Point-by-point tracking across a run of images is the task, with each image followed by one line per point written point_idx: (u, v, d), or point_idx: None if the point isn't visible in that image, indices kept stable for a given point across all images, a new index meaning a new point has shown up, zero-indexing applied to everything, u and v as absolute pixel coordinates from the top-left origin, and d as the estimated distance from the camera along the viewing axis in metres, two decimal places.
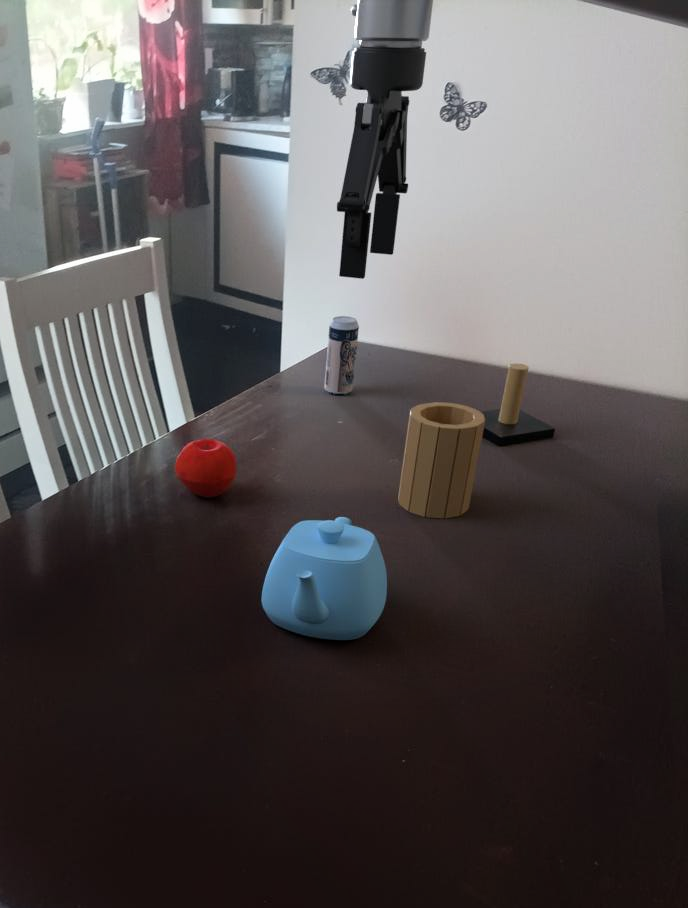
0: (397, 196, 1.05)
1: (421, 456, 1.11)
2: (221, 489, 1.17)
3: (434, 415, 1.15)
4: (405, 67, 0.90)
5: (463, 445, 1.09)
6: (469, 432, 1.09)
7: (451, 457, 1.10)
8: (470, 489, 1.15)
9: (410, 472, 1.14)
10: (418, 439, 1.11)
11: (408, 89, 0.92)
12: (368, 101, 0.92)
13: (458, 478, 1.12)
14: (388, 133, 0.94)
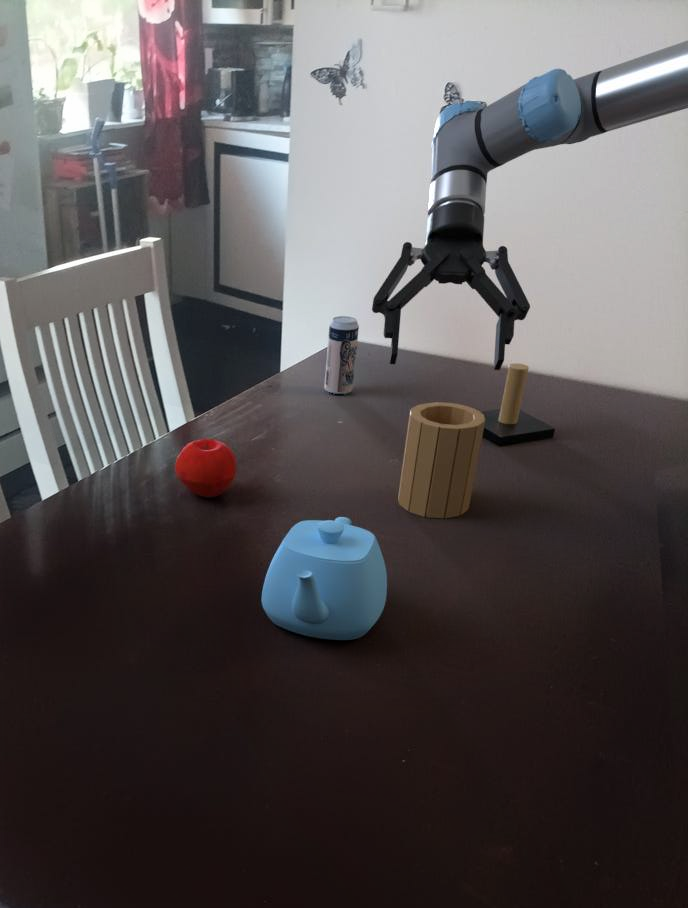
0: (500, 315, 1.17)
1: (421, 456, 1.11)
2: (221, 489, 1.17)
3: (434, 415, 1.15)
4: (436, 216, 1.20)
5: (463, 445, 1.09)
6: (469, 432, 1.09)
7: (451, 457, 1.10)
8: (470, 489, 1.15)
9: (410, 472, 1.14)
10: (418, 439, 1.11)
11: (442, 228, 1.19)
12: None
13: (458, 478, 1.12)
14: (430, 260, 1.20)
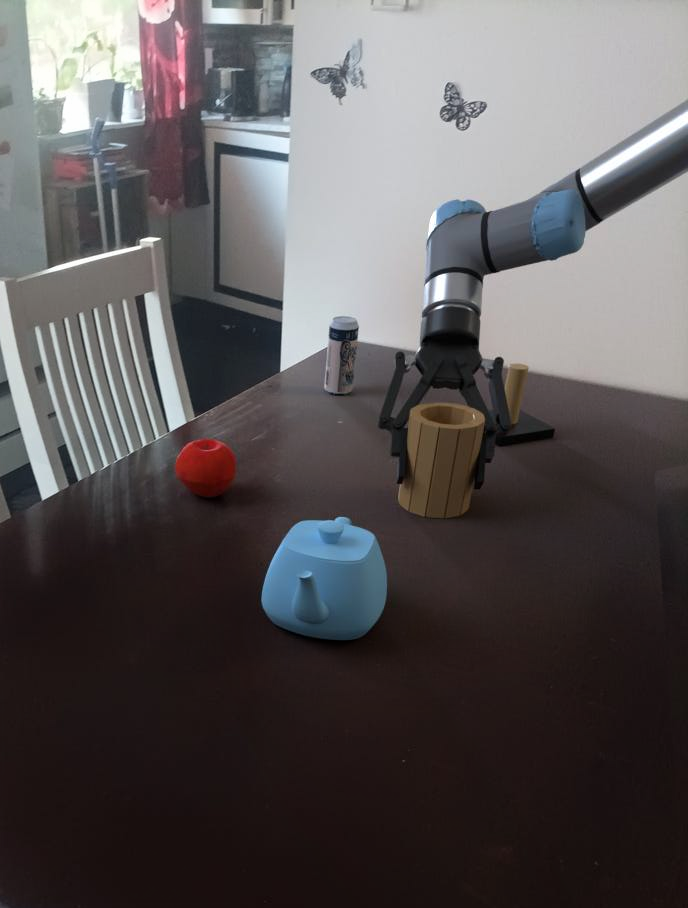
0: None
1: (421, 456, 1.11)
2: (221, 489, 1.17)
3: (434, 415, 1.15)
4: (430, 321, 1.15)
5: (463, 445, 1.09)
6: (469, 431, 1.09)
7: (451, 457, 1.10)
8: (470, 489, 1.15)
9: (410, 472, 1.14)
10: (418, 439, 1.11)
11: (436, 333, 1.14)
12: None
13: (458, 478, 1.12)
14: (426, 369, 1.15)
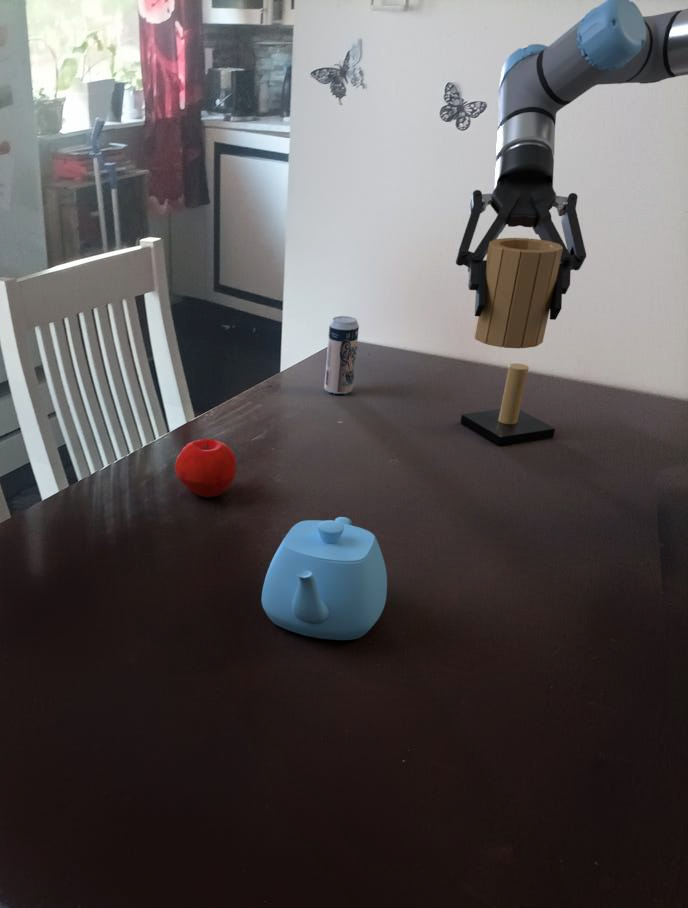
0: None
1: (501, 284, 1.16)
2: (221, 489, 1.17)
3: None
4: (506, 159, 1.20)
5: (543, 271, 1.14)
6: (549, 256, 1.14)
7: (531, 283, 1.15)
8: (546, 320, 1.20)
9: (489, 302, 1.19)
10: (499, 267, 1.16)
11: (512, 170, 1.19)
12: None
13: (536, 305, 1.17)
14: None
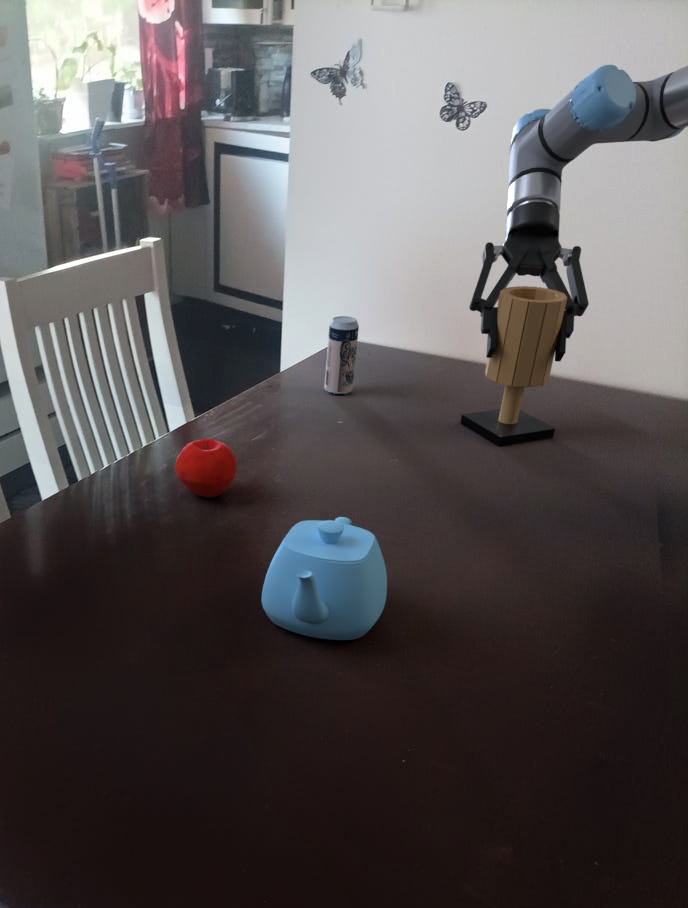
0: None
1: (511, 329, 1.28)
2: (221, 489, 1.17)
3: (520, 297, 1.32)
4: (516, 214, 1.32)
5: (549, 318, 1.26)
6: (554, 306, 1.25)
7: (538, 329, 1.27)
8: (551, 361, 1.31)
9: (499, 345, 1.30)
10: (509, 314, 1.27)
11: (522, 225, 1.31)
12: None
13: (542, 349, 1.29)
14: (513, 257, 1.31)
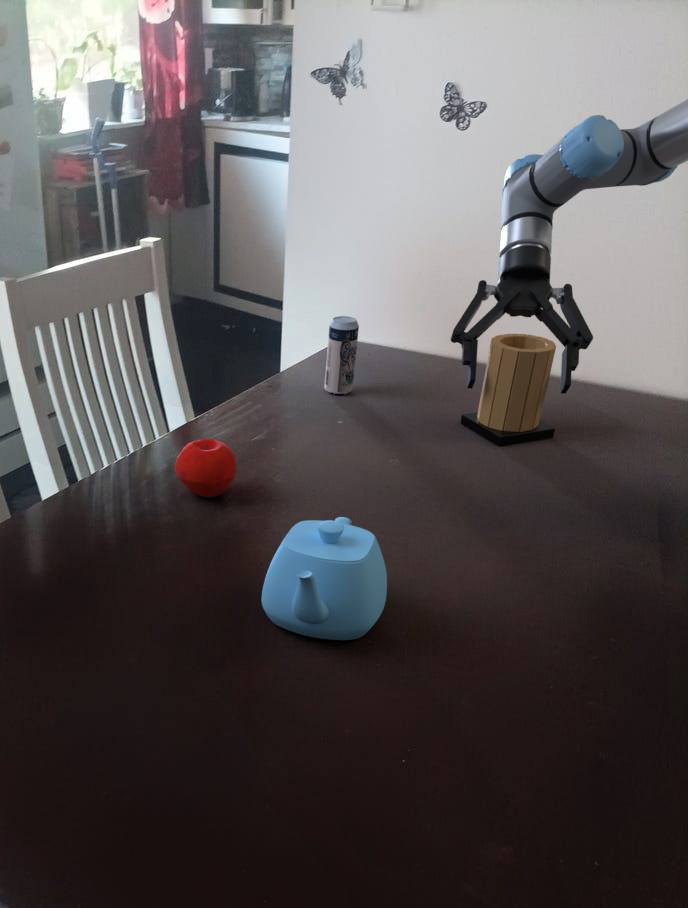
0: (567, 345, 1.33)
1: (501, 377, 1.32)
2: (221, 489, 1.17)
3: (510, 344, 1.35)
4: (508, 258, 1.35)
5: (538, 367, 1.30)
6: (544, 355, 1.29)
7: (527, 377, 1.31)
8: (541, 407, 1.35)
9: (491, 392, 1.34)
10: (499, 362, 1.31)
11: (514, 268, 1.34)
12: None
13: (532, 396, 1.32)
14: (503, 296, 1.35)
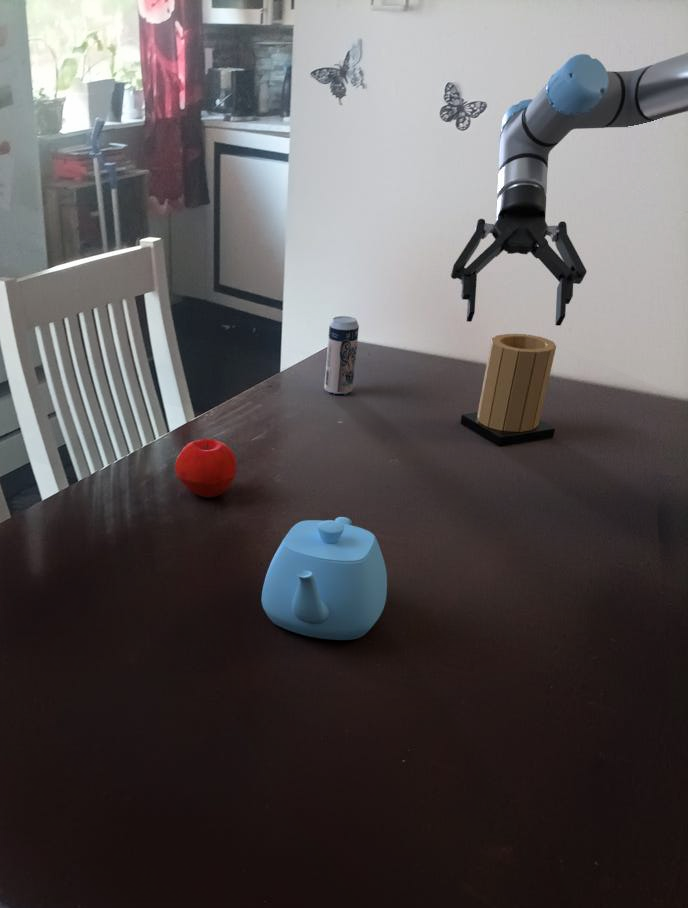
0: (561, 279, 1.40)
1: (501, 377, 1.32)
2: (221, 489, 1.17)
3: (510, 344, 1.35)
4: (506, 197, 1.42)
5: (538, 367, 1.30)
6: (544, 355, 1.29)
7: (527, 377, 1.31)
8: (541, 407, 1.35)
9: (491, 392, 1.34)
10: (499, 362, 1.31)
11: (511, 206, 1.41)
12: None
13: (532, 396, 1.32)
14: (501, 234, 1.42)
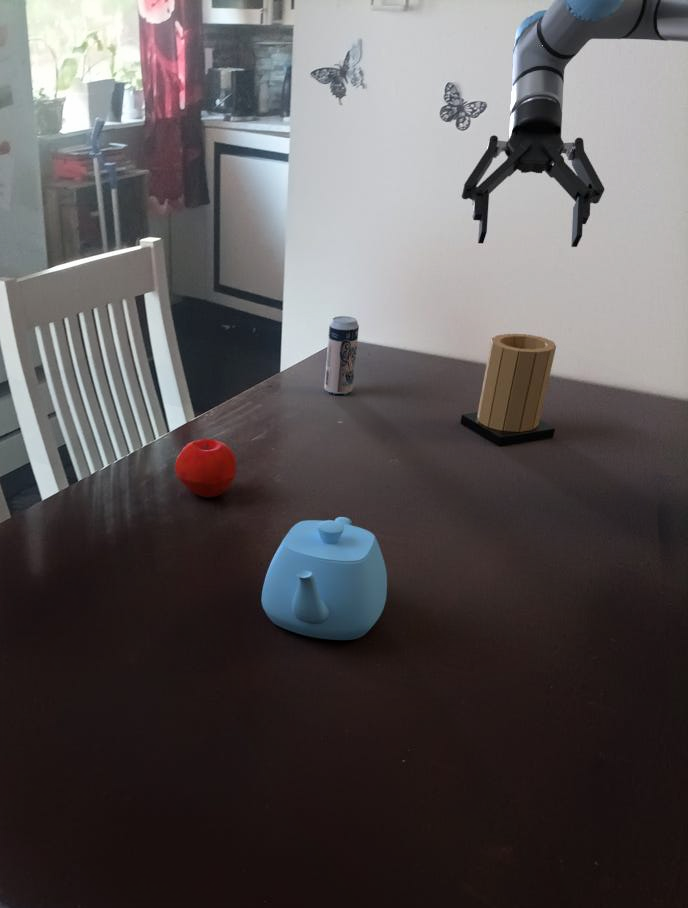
0: (578, 197, 1.33)
1: (501, 377, 1.32)
2: (221, 489, 1.17)
3: (510, 344, 1.35)
4: (520, 112, 1.35)
5: (538, 367, 1.30)
6: (544, 355, 1.29)
7: (527, 377, 1.31)
8: (541, 407, 1.35)
9: (491, 392, 1.34)
10: (499, 362, 1.31)
11: (525, 121, 1.34)
12: None
13: (532, 396, 1.32)
14: (514, 151, 1.35)
